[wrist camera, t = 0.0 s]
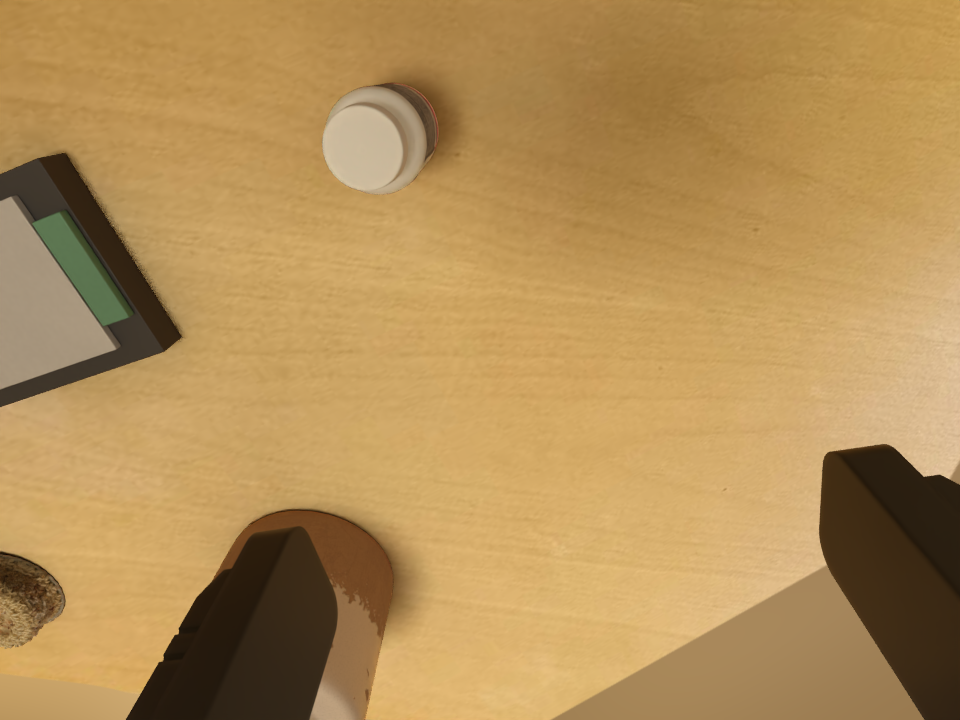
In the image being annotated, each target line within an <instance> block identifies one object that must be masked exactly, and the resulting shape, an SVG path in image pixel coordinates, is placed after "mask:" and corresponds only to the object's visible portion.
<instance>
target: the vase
mask: <svg viewBox="0 0 960 720" xmlns="http://www.w3.org/2000/svg"><path fill="white" fill-rule="evenodd" d="M296 526H301V527H303V528H304V529H305V530H306V531H307V532H308V534H309V536H310V538H311V540H312V543H313V545H314V547H315V549H316V551H317V554H318V556H319V558H320V560H321V562H322V565H323V567H324V569H325V571H326V573H327V576H328V578H329V580H330V582H331V584H332V587H333V589H334V591H335V595H336V599H337V606H338V621H337V628H336V632H335V636H334V639H333V643H332V646H331V649H330V653H329V656H328V659H327V663H326V666H325V669H324V673H323V676H322V679H321V683H320V686H319V689H318V693H317V696H316V699H315V703H314V706H313V709H312V713H311V716H310V719H309V720H365V719H366V714H367V709H368V705H369V700H370V695H371V691H372V686H373V681H374V677H375V672H376V667H377V663H378V658H379V653H380V649H381V644H382V640H383V635H384V630H385V626H386V621H387V616H388V612H389V607H390V602H391V597H392V592H393V573H392V568H391V565H390V562H389V560H388V558H387V556H386V554H385V553H384V551H383V550H382V548H381V547H380V546H379V544H378V543H377V542H376V541H375V540H374V539H373V538H372V537H371V536H369V535H368V534H367V533H366V532H364V531H363V530H361V529H360V528H358V527H357V526H355V525H353V524H351V523H349V522H347V521H345V520H343V519H340V518H338V517H335V516H332V515H328V514H324V513H319V512H313V511H286V512H280V513H275V514H272V515H269V516H266V517H264V518H261V519H259V520H258V521H256V522H254V523H253V524H251V525H250V526H249V527H247V528H246V529H245V530H244V531H243V532H242V533H241V534H240V536H239V537H238V538H237V539H236V541H235V542H234V544H233V546H232V547H231V549H230V551H229V552H228V554H227V556H226V558H225V559H224V561H223V563H222V565H221V566H220V568H219V570H218V572H217V573H216V575H215V577H214V579H215V578H216V577H217V576H218V575H219V574H220V573H221V572H222V571H223V570H224V569H232V567H233V565H234V563H235V561H236V560H237V558H238V556H239V554H240V552H241V550H242V549H243V547H244V545H245V543H246V541H247V540H248V538H249V537H250V536H251V535H252V534H253V533H256V532H261V531H268V530H275V529H282V528H289V527H296ZM214 579H213V580H214ZM213 580H212V581H213Z"/></svg>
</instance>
